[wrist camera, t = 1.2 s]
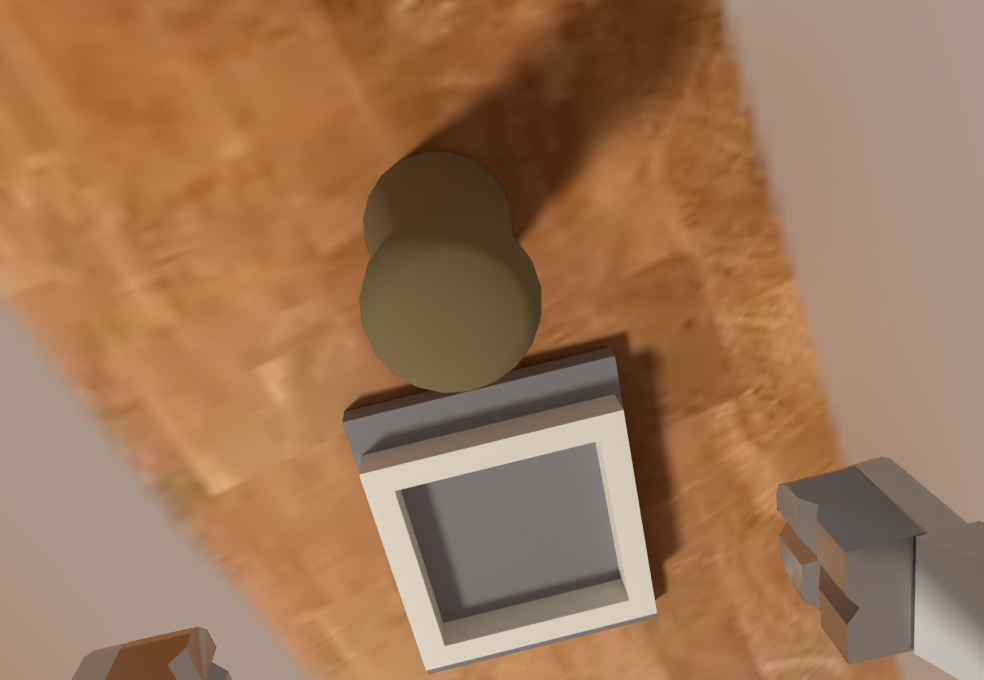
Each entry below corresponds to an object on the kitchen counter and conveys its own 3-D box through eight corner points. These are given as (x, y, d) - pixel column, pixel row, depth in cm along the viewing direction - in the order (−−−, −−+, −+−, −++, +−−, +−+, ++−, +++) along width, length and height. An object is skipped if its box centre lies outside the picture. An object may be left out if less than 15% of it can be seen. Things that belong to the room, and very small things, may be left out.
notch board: (344, 411, 32) (339, 439, 30) (609, 347, 32) (624, 370, 30) (428, 658, 38) (429, 698, 36) (651, 603, 38) (667, 639, 36)
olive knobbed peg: (498, 136, 29) (549, 190, 18) (524, 281, 31) (580, 400, 21) (345, 167, 28) (311, 239, 18) (383, 311, 31) (370, 445, 21)
